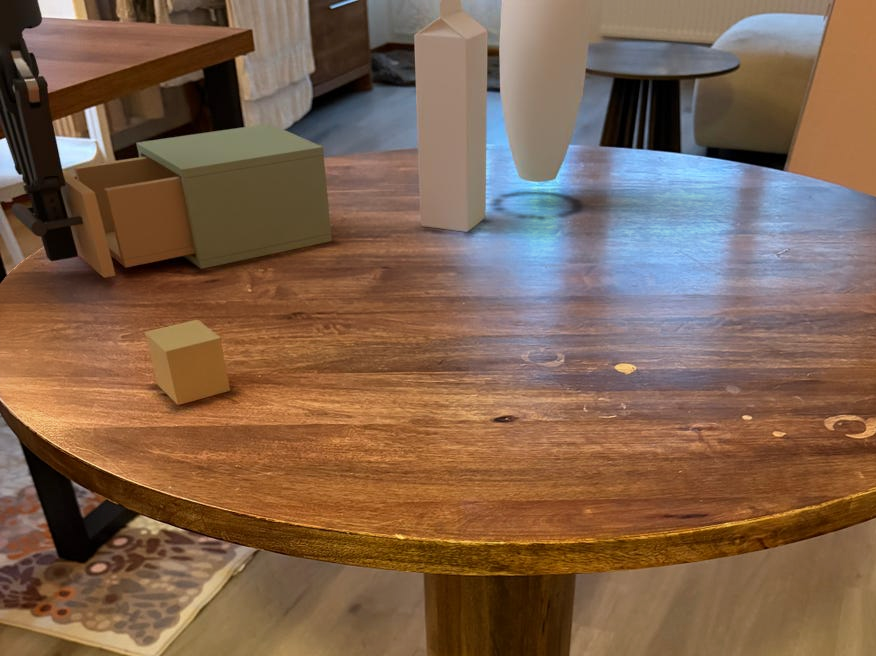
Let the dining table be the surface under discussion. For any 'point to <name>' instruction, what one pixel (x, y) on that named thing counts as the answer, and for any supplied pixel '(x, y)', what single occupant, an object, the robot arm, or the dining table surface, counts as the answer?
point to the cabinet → (248, 191)
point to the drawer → (121, 214)
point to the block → (188, 361)
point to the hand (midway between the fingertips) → (62, 256)
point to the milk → (451, 119)
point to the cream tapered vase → (542, 80)
